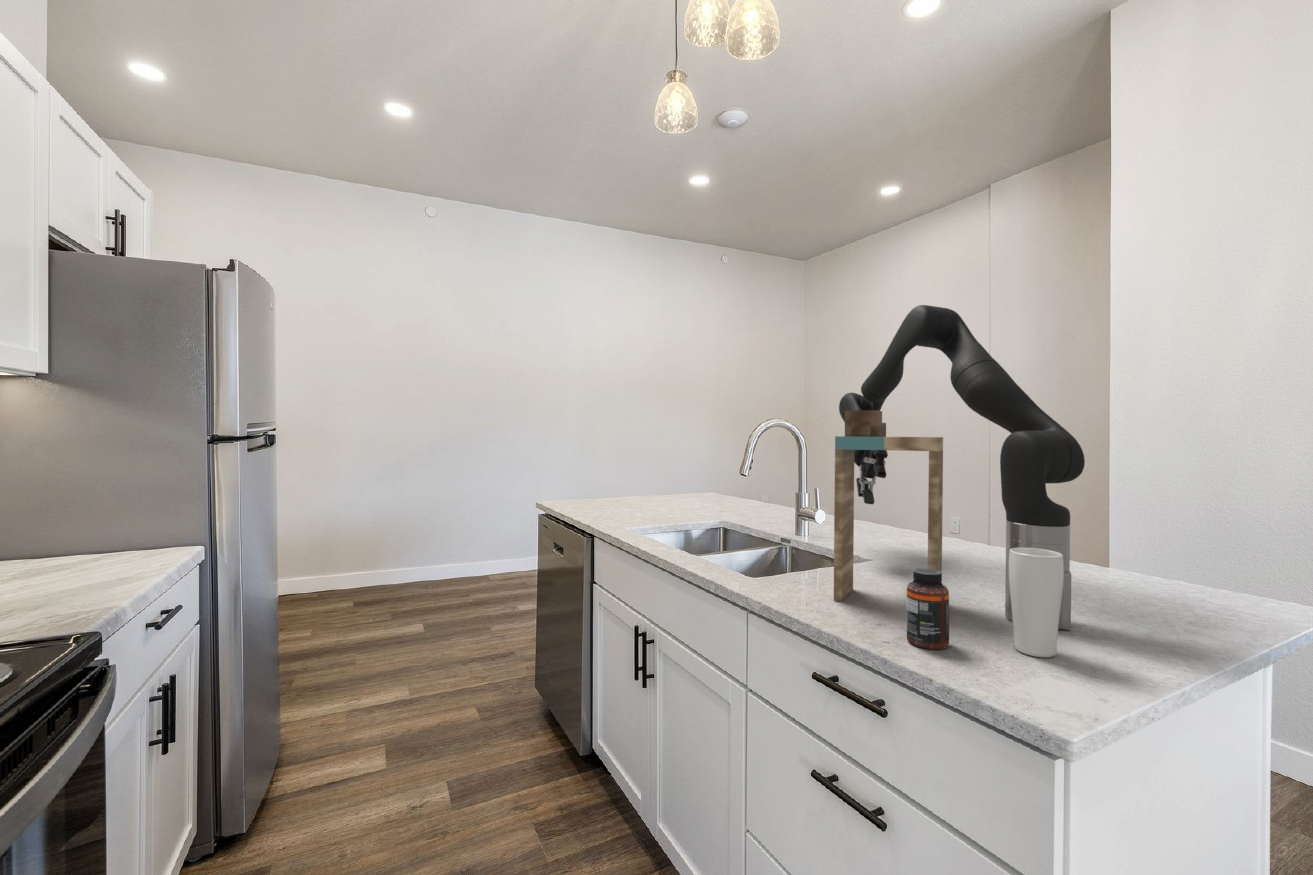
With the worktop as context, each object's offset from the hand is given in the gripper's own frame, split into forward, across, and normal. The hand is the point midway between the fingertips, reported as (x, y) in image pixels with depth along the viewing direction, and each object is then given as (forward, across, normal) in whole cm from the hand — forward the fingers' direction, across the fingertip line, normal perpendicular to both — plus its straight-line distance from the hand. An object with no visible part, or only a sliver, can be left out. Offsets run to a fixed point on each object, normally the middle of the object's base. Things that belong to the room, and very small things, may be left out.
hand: (875, 490), depth 128 cm
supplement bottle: (+46, -10, +1) cm, 47 cm away
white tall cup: (+46, -13, -13) cm, 49 cm away
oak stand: (+28, +3, 0) cm, 28 cm away
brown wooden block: (+4, -18, +7) cm, 19 cm away
